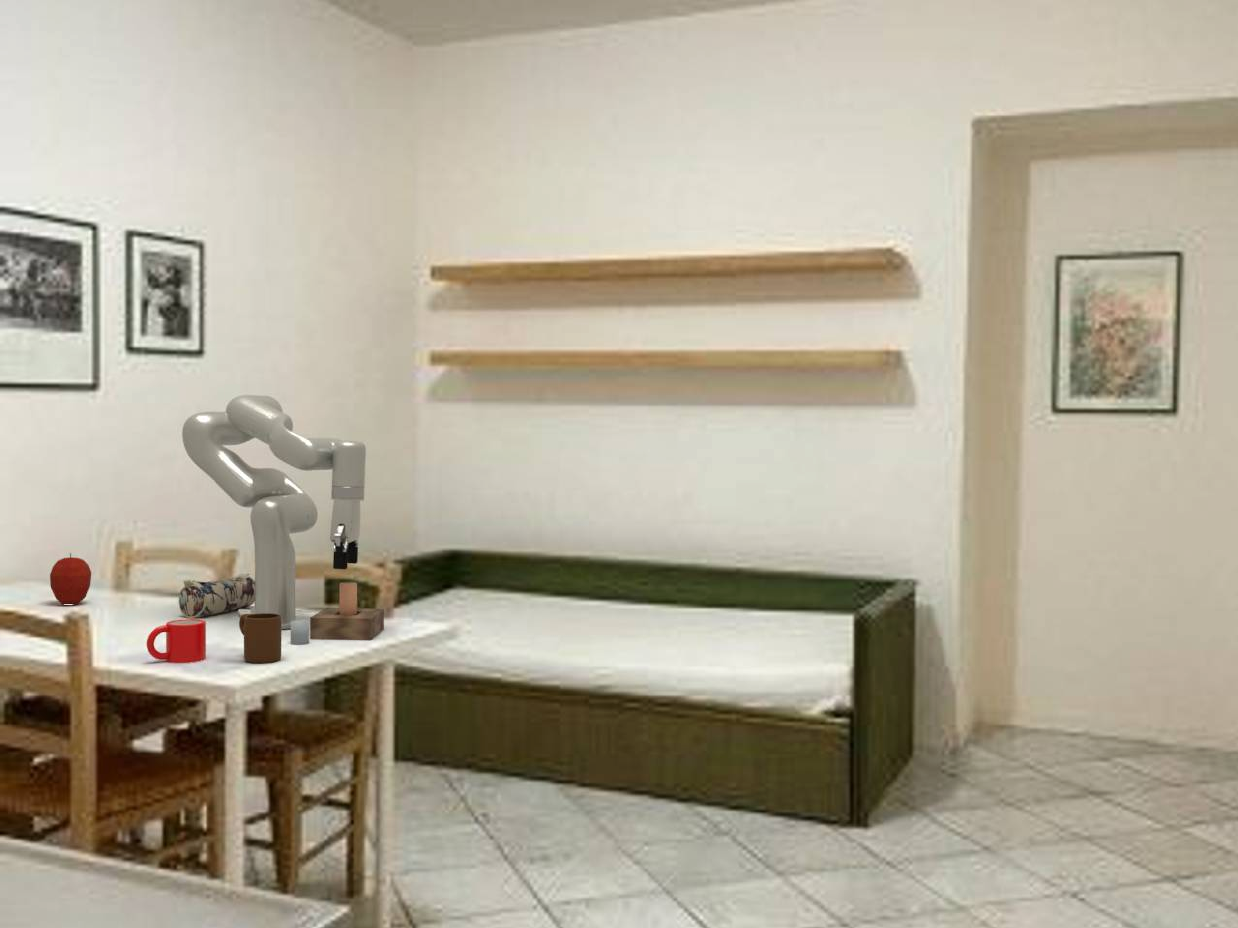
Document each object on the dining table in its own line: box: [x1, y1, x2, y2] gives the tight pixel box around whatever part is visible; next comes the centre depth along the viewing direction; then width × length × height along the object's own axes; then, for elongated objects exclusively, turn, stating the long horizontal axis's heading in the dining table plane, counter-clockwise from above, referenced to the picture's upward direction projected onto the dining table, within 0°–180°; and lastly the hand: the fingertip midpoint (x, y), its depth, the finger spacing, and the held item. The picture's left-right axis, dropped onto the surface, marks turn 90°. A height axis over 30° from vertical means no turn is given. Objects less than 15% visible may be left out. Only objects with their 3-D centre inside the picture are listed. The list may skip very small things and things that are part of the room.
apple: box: [49, 552, 92, 605], centre depth 328 cm, size 10×10×14 cm
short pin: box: [290, 619, 310, 646], centre depth 278 cm, size 4×4×5 cm
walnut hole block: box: [309, 607, 385, 641], centre depth 290 cm, size 14×14×5 cm
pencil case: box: [178, 573, 255, 619], centre depth 318 cm, size 22×8×10 cm, turn 156°
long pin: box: [339, 581, 358, 615], centre depth 290 cm, size 4×4×12 cm
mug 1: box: [146, 618, 207, 664], centre depth 257 cm, size 8×12×8 cm, turn 130°
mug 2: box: [238, 613, 282, 664], centre depth 260 cm, size 12×8×9 cm, turn 49°
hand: (345, 565), depth 290 cm, fingers open, 9 cm apart
